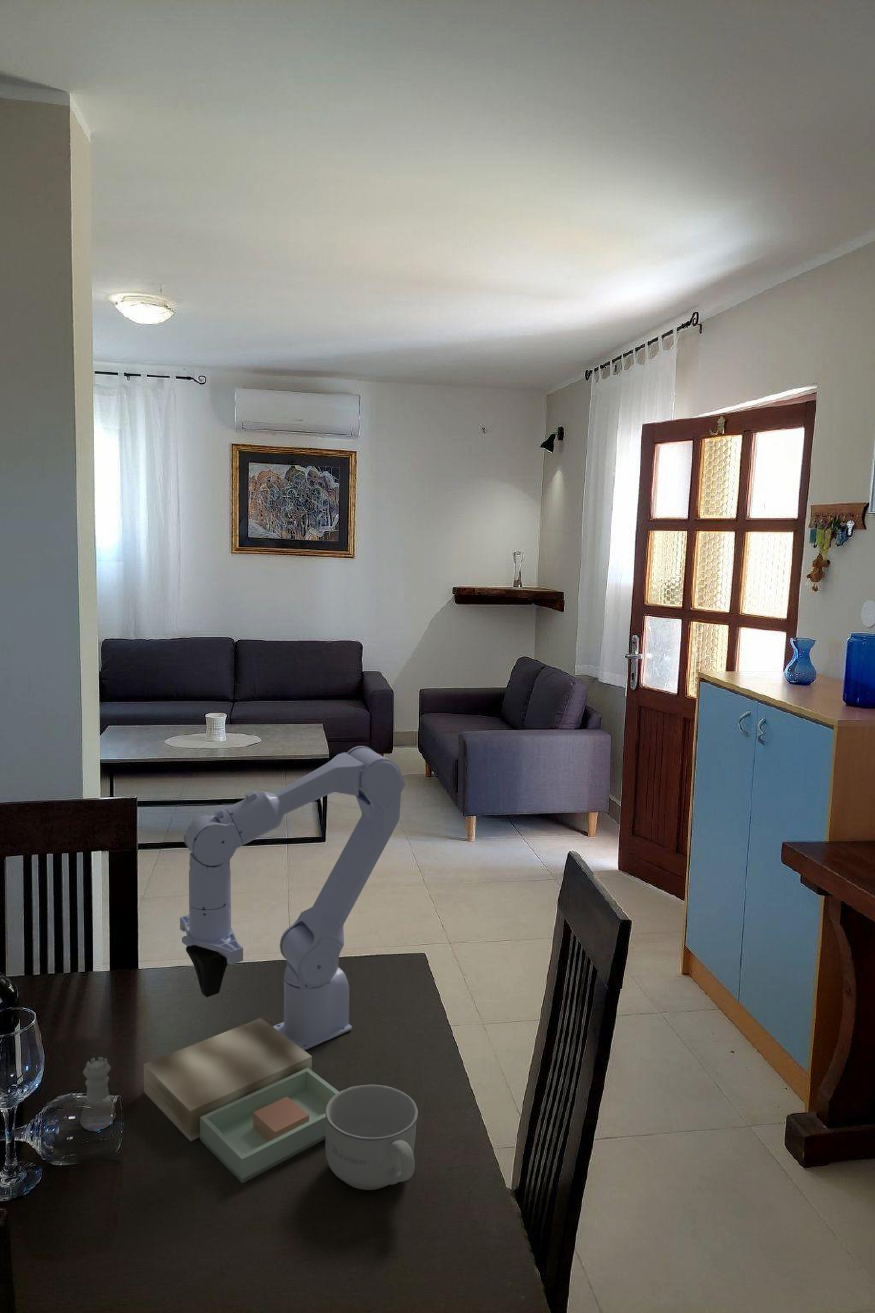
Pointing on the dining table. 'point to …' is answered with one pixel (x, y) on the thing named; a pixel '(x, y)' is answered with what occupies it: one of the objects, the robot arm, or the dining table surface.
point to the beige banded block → (220, 1072)
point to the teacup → (371, 1136)
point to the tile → (279, 1118)
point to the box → (245, 1146)
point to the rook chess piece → (97, 1079)
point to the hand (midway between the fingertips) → (210, 993)
